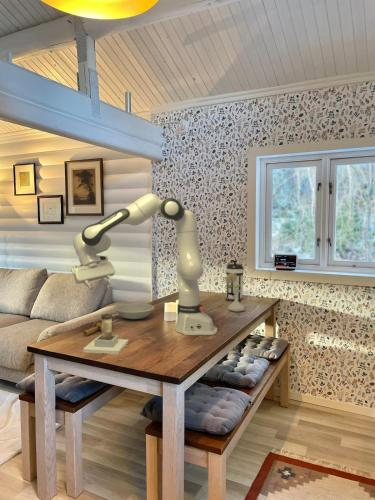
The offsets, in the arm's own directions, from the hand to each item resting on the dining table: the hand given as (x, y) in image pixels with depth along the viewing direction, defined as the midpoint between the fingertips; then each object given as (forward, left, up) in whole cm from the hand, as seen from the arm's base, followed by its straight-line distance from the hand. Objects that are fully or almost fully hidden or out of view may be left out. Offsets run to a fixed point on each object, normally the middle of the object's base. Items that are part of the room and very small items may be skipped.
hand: (100, 286), depth 182 cm
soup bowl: (-6, -41, -26) cm, 49 cm away
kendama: (+5, -10, -26) cm, 29 cm away
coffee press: (-66, -103, -26) cm, 125 cm away
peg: (-7, +12, -24) cm, 28 cm away
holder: (-7, +12, -26) cm, 29 cm away
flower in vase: (-66, -70, -26) cm, 100 cm away
